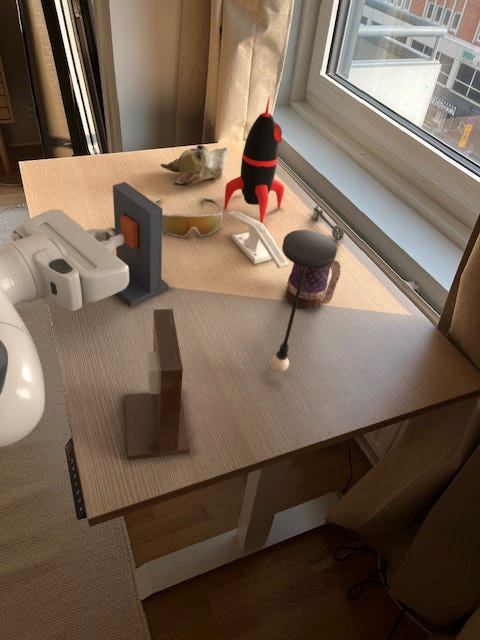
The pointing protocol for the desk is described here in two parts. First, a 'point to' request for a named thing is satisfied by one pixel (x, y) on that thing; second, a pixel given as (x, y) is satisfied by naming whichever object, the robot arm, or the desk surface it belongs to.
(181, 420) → the panel near
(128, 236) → the switch far
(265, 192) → the toy rocket
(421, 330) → the desk surface
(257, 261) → the t-shaped cleat
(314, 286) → the mug
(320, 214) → the key
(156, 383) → the switch near
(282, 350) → the light fixture
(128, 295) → the panel far
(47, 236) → the robot arm
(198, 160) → the ceramic sculpture
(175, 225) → the sunglasses
